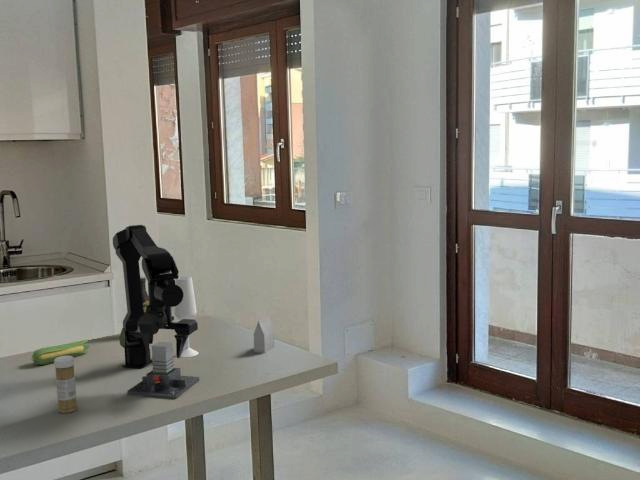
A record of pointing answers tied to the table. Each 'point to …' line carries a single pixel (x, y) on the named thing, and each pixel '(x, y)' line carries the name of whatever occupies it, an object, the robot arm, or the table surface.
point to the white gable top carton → (263, 336)
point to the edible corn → (59, 352)
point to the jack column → (162, 358)
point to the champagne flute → (186, 309)
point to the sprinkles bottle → (65, 384)
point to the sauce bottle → (144, 293)
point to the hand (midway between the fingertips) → (162, 356)
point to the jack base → (163, 385)
